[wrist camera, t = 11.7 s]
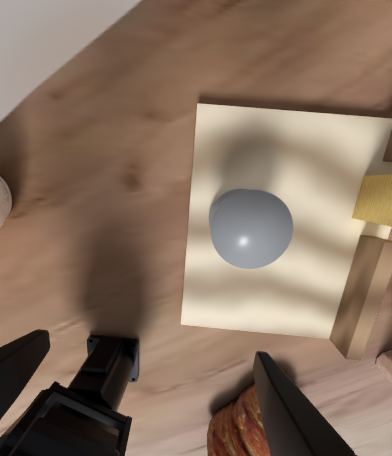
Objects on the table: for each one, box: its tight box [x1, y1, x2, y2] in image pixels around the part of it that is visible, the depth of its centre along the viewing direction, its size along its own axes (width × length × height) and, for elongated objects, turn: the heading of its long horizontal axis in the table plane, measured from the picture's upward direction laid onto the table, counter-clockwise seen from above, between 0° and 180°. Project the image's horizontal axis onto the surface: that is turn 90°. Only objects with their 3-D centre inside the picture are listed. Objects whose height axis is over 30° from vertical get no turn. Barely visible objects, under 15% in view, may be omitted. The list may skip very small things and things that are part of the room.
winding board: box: [181, 103, 392, 360], centre depth 18 cm, size 23×20×4 cm
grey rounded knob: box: [209, 189, 293, 269], centre depth 16 cm, size 6×6×5 cm
